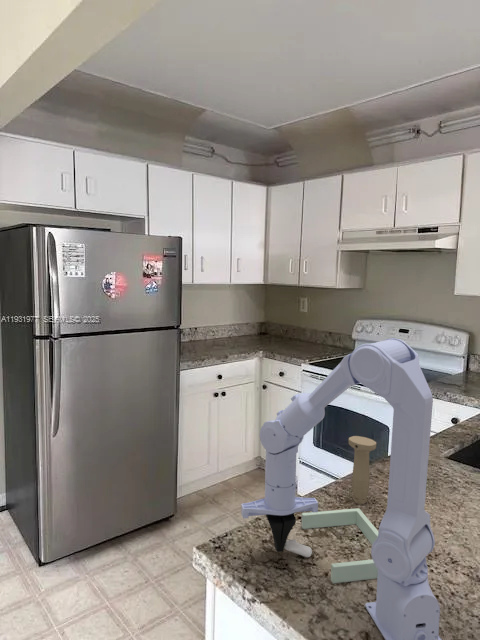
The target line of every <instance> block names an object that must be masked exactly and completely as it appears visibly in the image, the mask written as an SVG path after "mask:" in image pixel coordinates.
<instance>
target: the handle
mask: <svg viewBox="0 0 480 640" xmlns="http://www.w3.org/2000/svg"><path fill="white" fill-rule="evenodd" d="M348 445H349V446H350V447H351V448H353V451H354V455H353V456H354V457H353V466H352V473H351V475H352V476H351V478H352V479H351V487H352V488H351V491H352V501H354V503H355V504H360V505H365V504H367V502H368V495H369V490H370V453H371V452H373V451H374V450H376V449H377V441H375V440H374V439H372V438H369V437H365V436H359V435H353V436H350V437H348Z"/></svg>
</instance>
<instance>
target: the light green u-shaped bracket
mask: <svg viewBox="0 0 480 640" xmlns="http://www.w3.org/2000/svg"><path fill="white" fill-rule="evenodd" d="M350 525H356V527H358V528H359V530H360V532H362V534H363V536H365V538H366V539H367V540H368V541H369V543H370V544H371V546H372V545H373V543H374V541H375V540H376V539H377V537H378V533H379V529H377V528H376V527H375V525H374V524H373V523H372V522H371V520H370V519H369V517H367V516H366V515H365V514H364V513H363V511H362V510H361V509H360V508H359V507H358V508H349V509H348V508H347V509H344V508H343V509H336V510H335V509H334V510H322V511H318V512H314V513H313V512H312V511H308V512H301V526H300V527H301V528H302V529H303V530H307V529H315V528H316V529H318V528H327V527H328V528H330V527H340V526H350ZM330 566H331V567H330V581H331V583H332V584H340V583H341V584H342V583H348V582H357V581H366V580H367V581H368V580H375V579H377V575H378V569H377V567H376V566H375V564H374V562H373V559H372V558H371V559H365V560H363V559H362V560H356V561H354V560H353V561H343V562H336V563H331V565H330Z"/></svg>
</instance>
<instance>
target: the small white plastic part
mask: <svg viewBox="0 0 480 640" xmlns="http://www.w3.org/2000/svg"><path fill="white" fill-rule="evenodd" d="M284 550H285V551H288V552H291V553H294V554H295V555H296V554H297V555H300V556H302V557H304V558H309V557H311V556H312V555H314V553H313V550H312V548H311V547H310V546H308V545H305V544H302V543H299V542H297V540H296V539H294V538H292V539H288V538H287V540H286V543H285V546H284Z"/></svg>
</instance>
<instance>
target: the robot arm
mask: <svg viewBox="0 0 480 640" xmlns="http://www.w3.org/2000/svg"><path fill="white" fill-rule="evenodd" d="M419 357H420V356H419V353H418V352H416V351H415V350H414V348H412V347H411V346H410V345H409V344H408V343H407V342H405V340H403V339H400V338H396V337H389V338H386V339H383V340H381V341H377V342H371V343H363V344H360V345H358V346H357V347H356V348H354V350H353V351H352V352H351V353H349V354H347V355H345V356H343V358H342V360H341V361H340V362H339V363H338V365H336V367H334V368H333V370H332V371H331V372H330V373H329V374H328V375H327V376H326V377H325V378H324V379H323V380H322V381H321V382H320V383H319V384H318V386H316V388H315V389H314V390H313V391H312V392H311V393H310V392H302V393H297V394H293V396H291V398H290V400H291V402H290V403H289V404H288V405H287V406H286V407H284V409H281V410H278V412H277V413H276V417H275V419H273V420H267V421H265V422H263V424H262V426H261V427H260V430H259V441H260V443H261V445H262V447H263V448H264V449H265V468H264V469H265V470H264V471H265V473H264V475H265V476H264V479H265V480H264V482H265V483H264V498H260V499H256V500H253V501H250V502H245V503H244V502H243V503H241V504H240V506H241V507H240V509H241V510H240V511H241V513H240V514H241V517H242V519H243V520H244V519H249V517H253V516H254V517H256V516H265V517H266V520H267V521H268V523H269V524H268V525H269V527H270V529H271V534H272V538H273V545H274V548H275V552H276V553H284V550H285V548H284V546H285V543H286V540H287V539H288V537H289V535H290V532H291V531H292V529H293V528H294V526H296V521H297V520H296V519H297V518H296V516H295V513H305V512H313V513H314V512H319V502H318V500H317V499H316V497H300V496H296V490H297V489H296V487H297V486H296V485H297V483H296V482H297V480H296V479H297V478H296V477H297V453H299V445H300V444H301V443H302V442H303V440H304V436H305V435H306V434H307V433H309V432H310V431H311V430H312V429H313V428H314V427H315V426H317V425H319V423H321V421H322V420H323V419H324V418H325V414H326V410H325V408H326V407H327V406H328V405H329V404H331V403H332V402H333V401H335V400H336V399H337V398H338V397H339V396H341V395H342V394H344V393H345V392H346V391H347V390H348V389H349V388H350V387H352V386H355V385H359V384H361V385H363V386H364V387H366V388H367V389H368V390H370V391H372V392H374V393H375V394H377V395H378V396H380V397H381V398H383V399H384V400H385V401H386V402H387V403H388V404H390V406H391V407H392V408H393V413H392V415H393V416H392V431H391V443H390V459H389V471H388V472H389V475H388V489H387V491H388V492H387V502H386V503H387V505H386V510H385V512H384V514H383V516H382V519H381V521H380V523H379V526H378V532H379V533H378V537H377V539H376V540H375V541H374V543H373V545H372V544H371V549H370V550H371V551H370V553H371V554H370V555H371V559H373V562H374V564H375V566H376V567H377V569H378V575H377V578H376V579H377V580H376V600H375V601H373V602H372V601H371V602H366V603H365V604H364V605H365V609H366V610H367V612H368V613H369V615H370V617H371V618H372V620H373V623H375V625H376V627H377V628H378V630H379V632H380V634H381V636H382V637H383V638H384V640H442V638H441V636H439V630H440V616H441V615H440V614H441V609H440V608H441V607H440V603H439V600H438V599H437V598H436V596H435V595H434V593H433V591H432V588H431V586H430V582H429V569H428V564H427V556H428V555H429V554H431V553H432V552H433V550H434V548H435V545H436V543H435V542H436V539H435V536H434V532H433V529H432V527H431V514H430V513H429V512H427V511H426V510H425V508H426V507H425V504H426V495H427V493H426V492H427V481H428V480H427V479H428V466H429V457H430V454H429V453H430V442H431V430H432V428H431V427H432V419H433V417H432V416H433V404H434V403H433V402H434V397H433V393H432V391H431V388H430V386H429V384H428V382H427V379H426V377H425V375H424V373H423V371H422V368H421V366H420V358H419Z"/></svg>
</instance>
